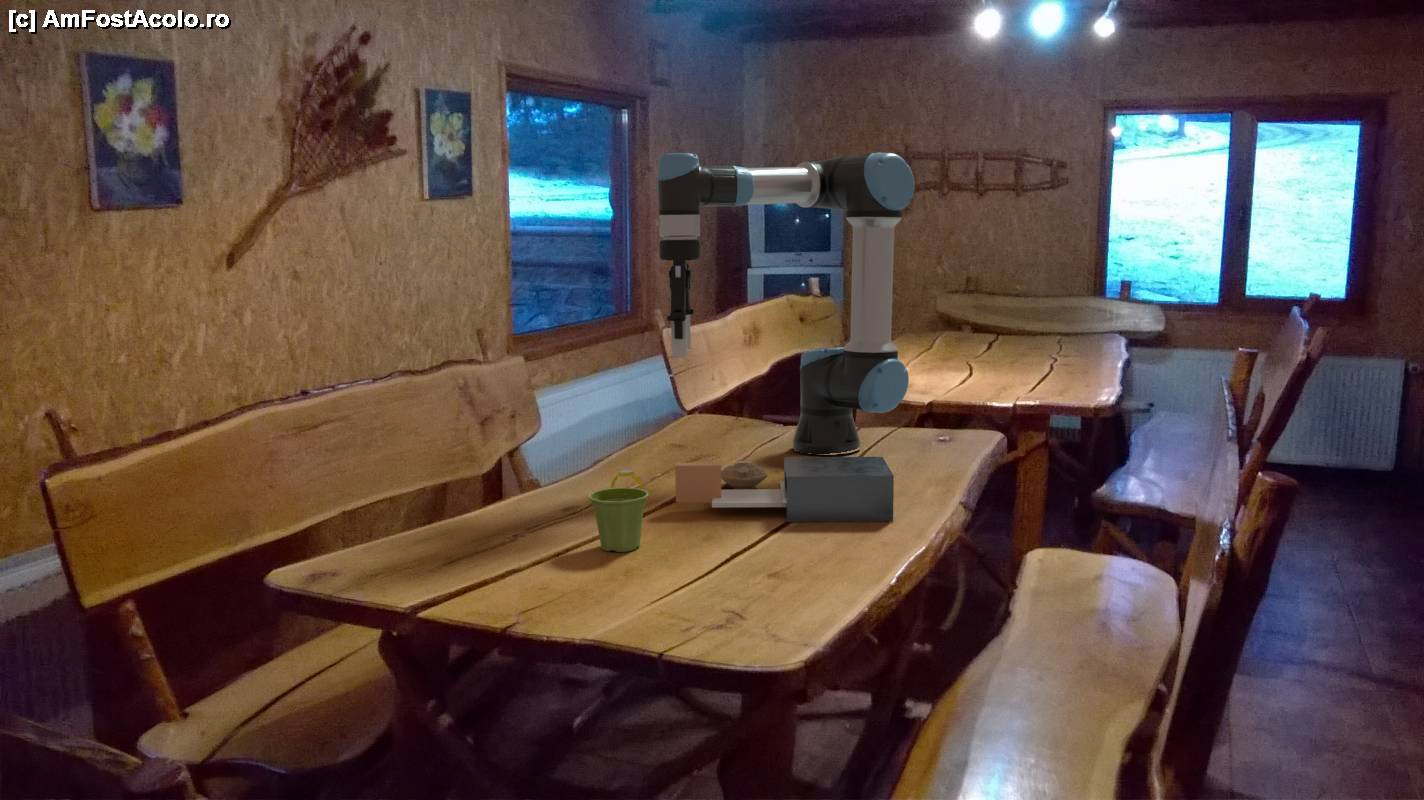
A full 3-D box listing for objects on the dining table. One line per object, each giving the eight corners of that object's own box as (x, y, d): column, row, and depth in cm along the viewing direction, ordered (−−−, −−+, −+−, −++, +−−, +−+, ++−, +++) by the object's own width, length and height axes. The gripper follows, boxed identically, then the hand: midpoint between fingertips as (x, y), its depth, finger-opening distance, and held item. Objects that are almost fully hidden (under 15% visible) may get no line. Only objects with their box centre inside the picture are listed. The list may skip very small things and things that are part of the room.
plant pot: (603, 559, 172) (602, 504, 171) (581, 544, 181) (580, 491, 179) (659, 550, 177) (658, 496, 175) (635, 536, 185) (634, 485, 184)
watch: (610, 504, 208) (607, 473, 207) (615, 501, 210) (612, 470, 210) (641, 504, 206) (638, 472, 205) (646, 500, 209) (643, 468, 208)
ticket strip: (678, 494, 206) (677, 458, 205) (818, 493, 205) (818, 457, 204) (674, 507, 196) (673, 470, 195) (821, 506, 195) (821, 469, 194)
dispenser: (780, 499, 208) (779, 457, 207) (882, 499, 208) (882, 456, 206) (782, 522, 193) (782, 476, 191) (893, 521, 192) (893, 475, 191)
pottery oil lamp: (767, 477, 226) (777, 449, 222) (754, 510, 216) (764, 482, 212) (726, 461, 226) (735, 433, 223) (711, 494, 216) (721, 465, 213)
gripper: (664, 238, 221) (666, 345, 224) (653, 239, 196) (656, 360, 200) (702, 237, 221) (703, 345, 224) (696, 239, 196) (698, 360, 199)
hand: (681, 352), depth 212 cm, fingers open, 13 cm apart
